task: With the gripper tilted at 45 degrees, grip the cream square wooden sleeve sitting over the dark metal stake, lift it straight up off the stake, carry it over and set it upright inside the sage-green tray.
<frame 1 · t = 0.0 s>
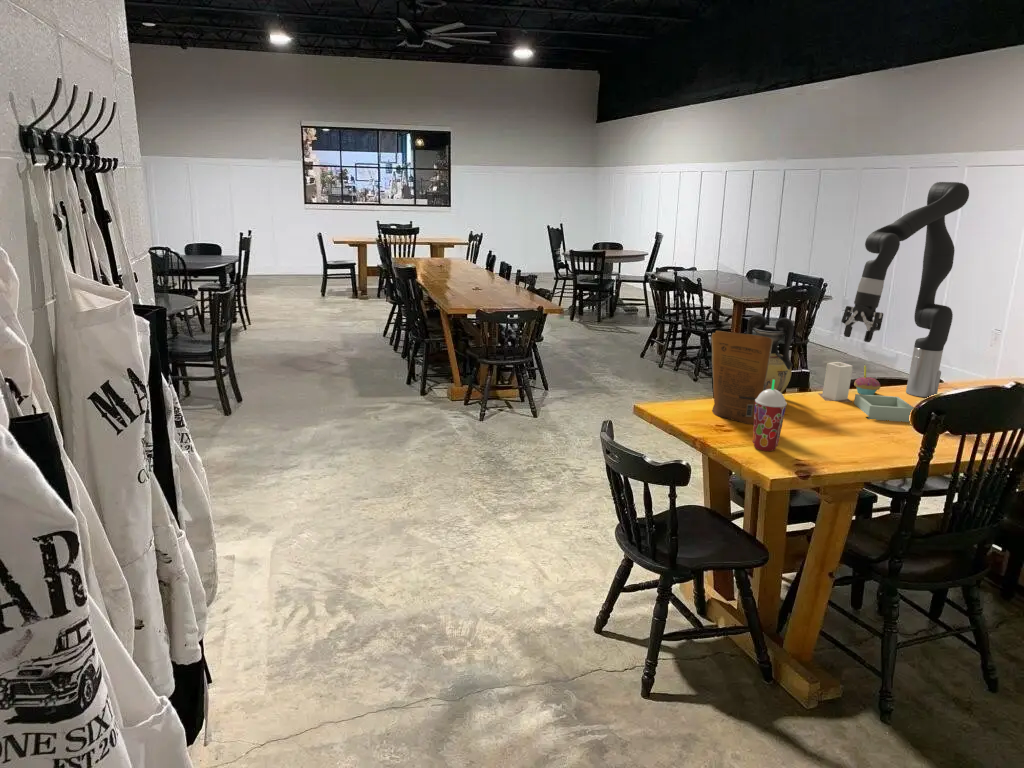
hand: (856, 339, 248), 22 cm above the table, tool pointing down, fingers open, 8 cm apart
amphora: (760, 402, 251), on the table
smoothie: (764, 448, 206), on the table
cupcake: (865, 396, 262), on the table
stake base: (834, 400, 255), on the table
sleeve: (834, 397, 255), point 1 cm above the table, touching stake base
tray: (882, 414, 241), on the table
pancake mix bag: (733, 419, 231), on the table
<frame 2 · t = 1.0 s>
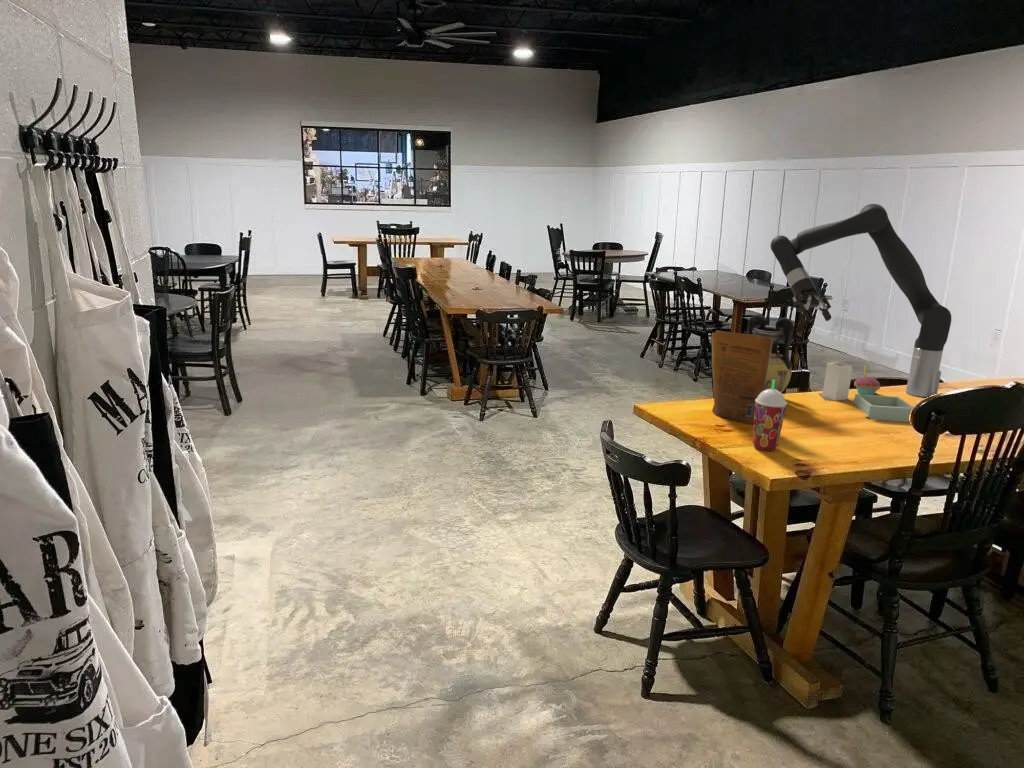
hand: (820, 320, 258), 27 cm above the table, tool tilted 45°, fingers open, 8 cm apart
nothing on the table moved.
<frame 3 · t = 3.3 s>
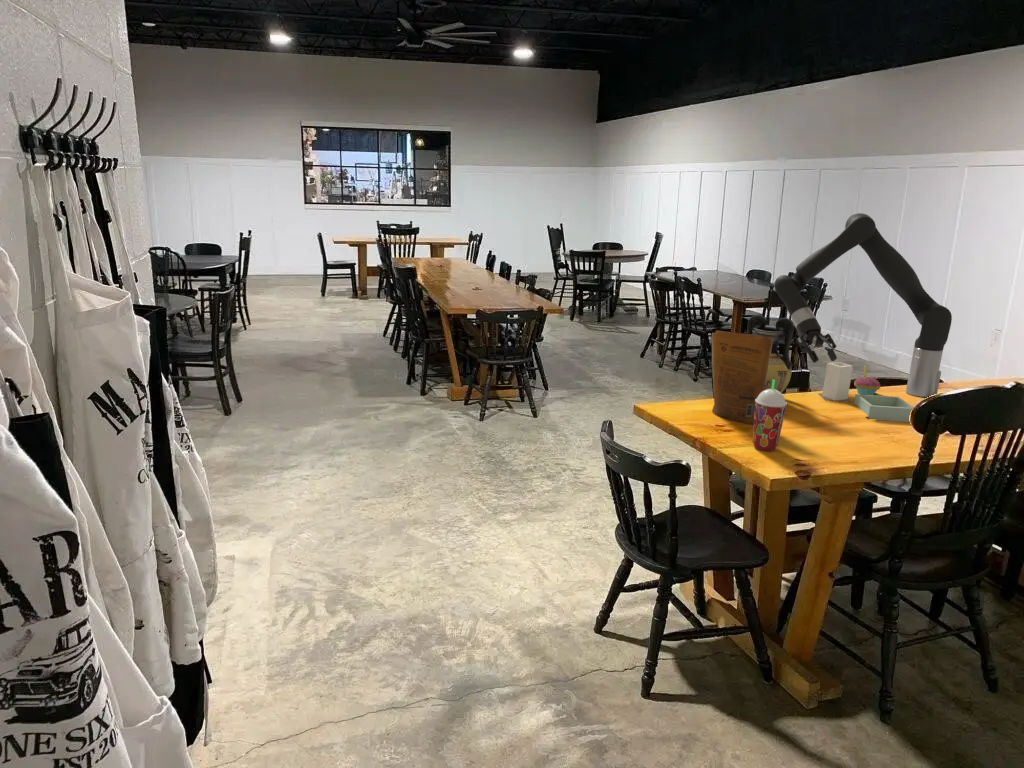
hand: (825, 360, 257), 13 cm above the table, tool tilted 45°, fingers open, 8 cm apart
nothing on the table moved.
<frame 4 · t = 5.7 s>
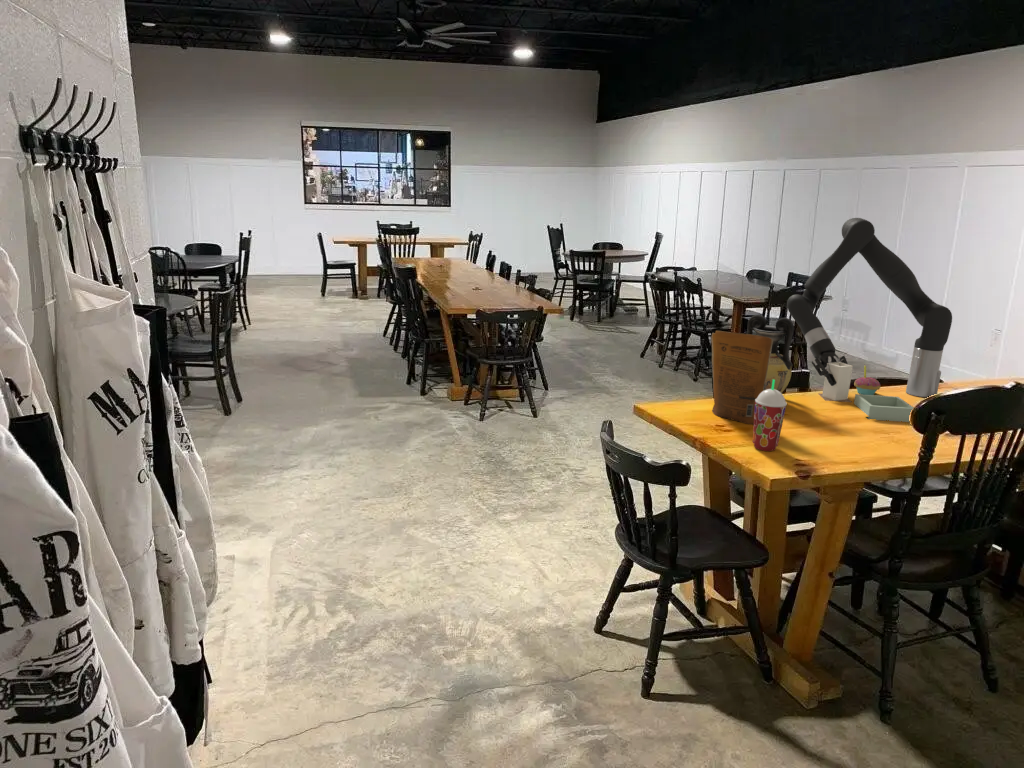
hand: (841, 383, 252), 7 cm above the table, tool tilted 45°, fingers closed on sleeve, 5 cm apart
sleeve: (834, 397, 255), point 1 cm above the table, touching gripper, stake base
everything else where it was.
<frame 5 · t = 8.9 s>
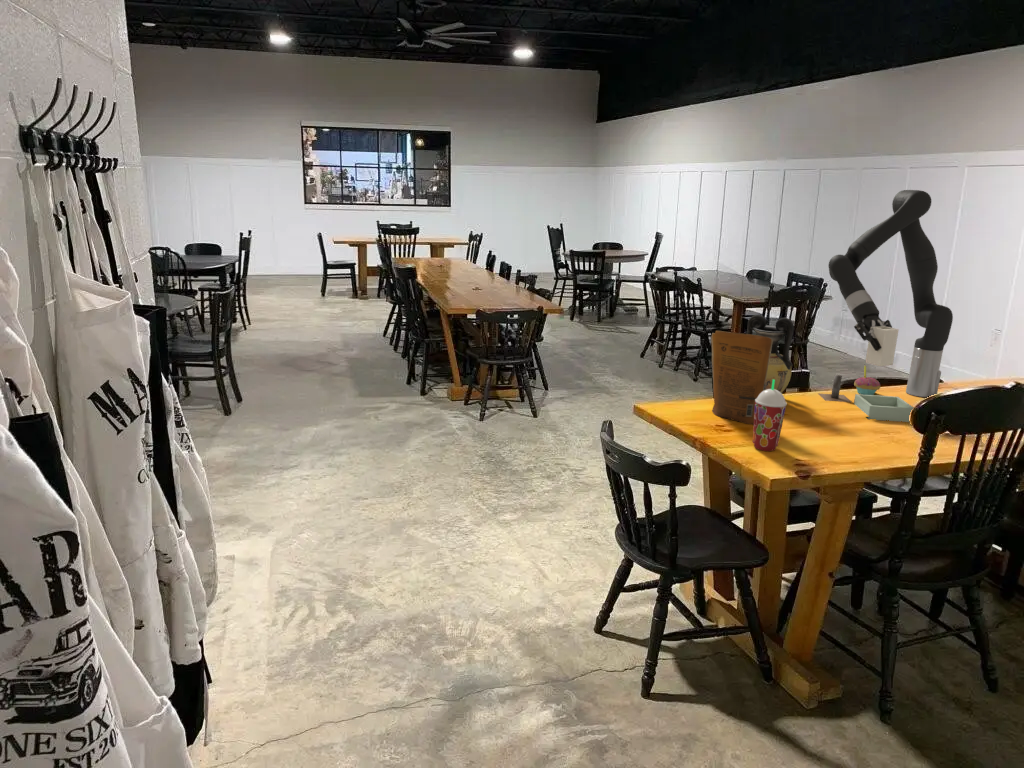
hand: (886, 348, 237), 22 cm above the table, tool tilted 45°, fingers closed on sleeve, 5 cm apart
sleeve: (878, 363, 240), point 16 cm above the table, touching gripper
everything else where it was.
when the fingers open (8 cm above the table, at t = 12.5 s): sleeve drops 1 cm, resting on tray.
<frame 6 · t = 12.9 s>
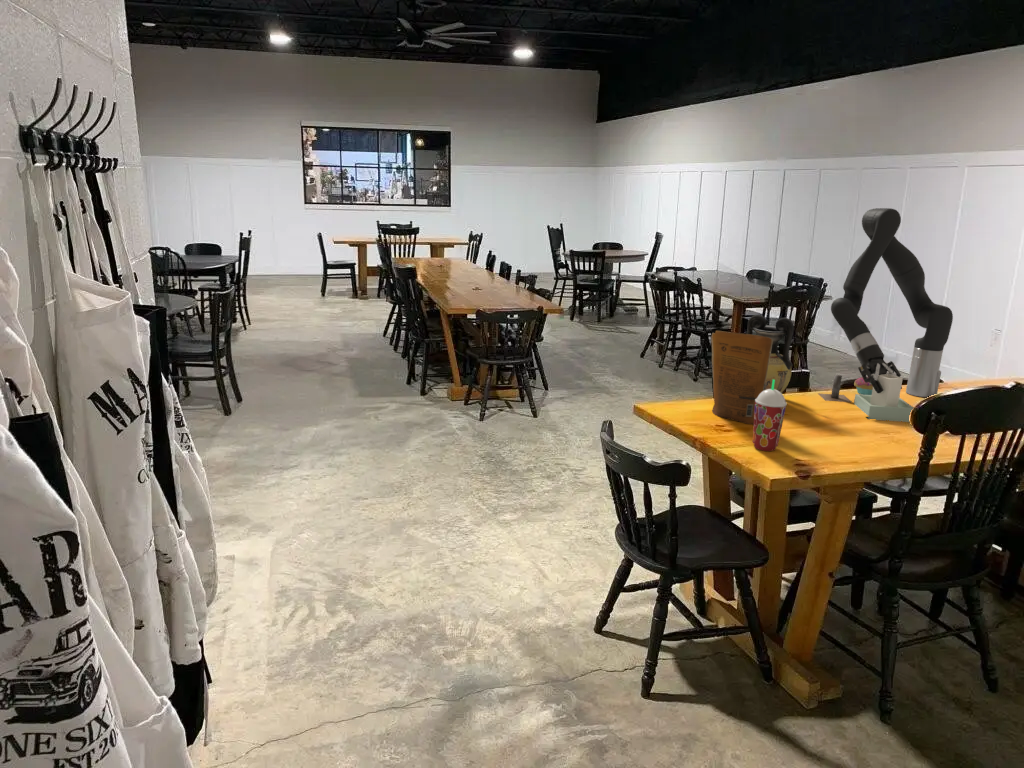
hand: (890, 391, 238), 8 cm above the table, tool tilted 45°, fingers open, 8 cm apart
sleeve: (882, 411, 241), point 1 cm above the table, touching tray
everything else where it was.
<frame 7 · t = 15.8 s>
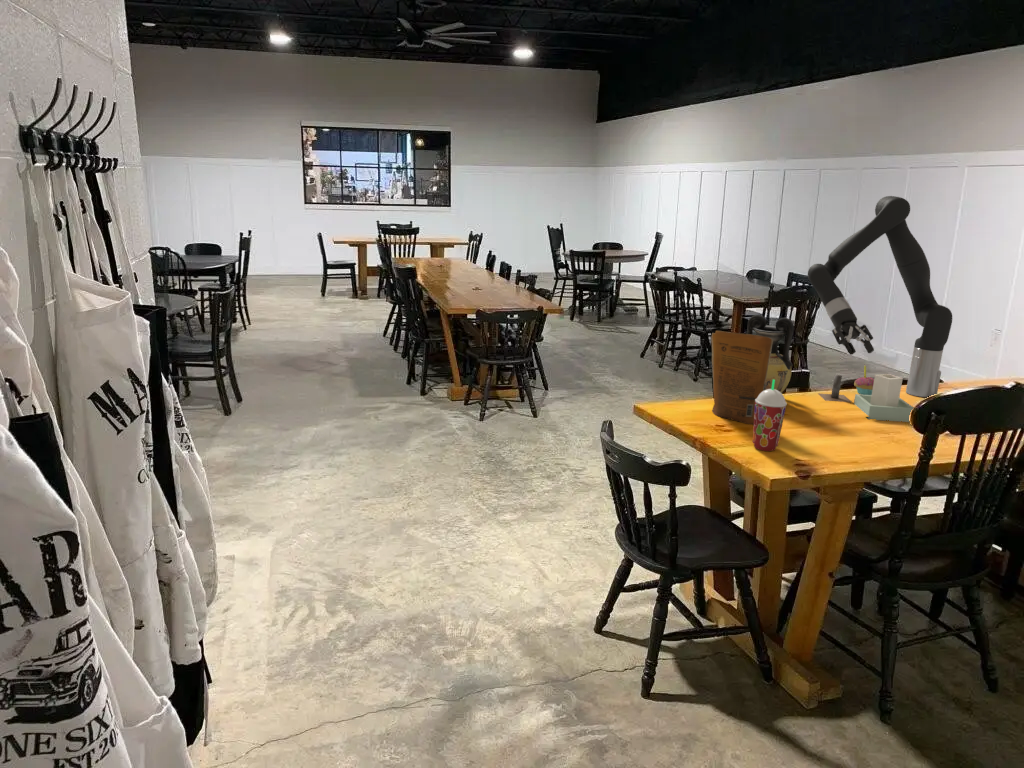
hand: (862, 352, 247), 18 cm above the table, tool tilted 45°, fingers open, 8 cm apart
nothing on the table moved.
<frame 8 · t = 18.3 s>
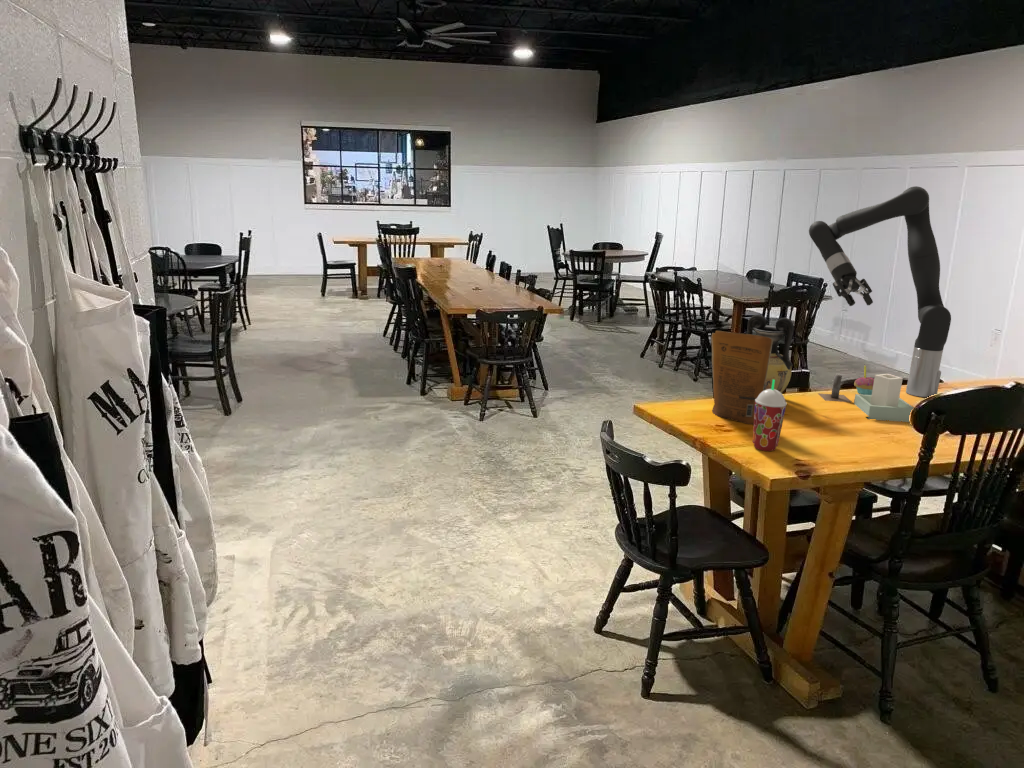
hand: (861, 304, 257), 33 cm above the table, tool tilted 45°, fingers open, 8 cm apart
nothing on the table moved.
at the end: sleeve inside the target area on the tray (0.1 cm from its centre), point 1.0 cm above the tray's base; sleeve tilted 0°; the gripper is holding nothing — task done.
